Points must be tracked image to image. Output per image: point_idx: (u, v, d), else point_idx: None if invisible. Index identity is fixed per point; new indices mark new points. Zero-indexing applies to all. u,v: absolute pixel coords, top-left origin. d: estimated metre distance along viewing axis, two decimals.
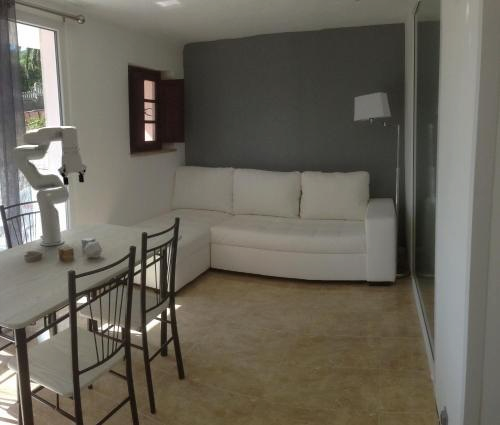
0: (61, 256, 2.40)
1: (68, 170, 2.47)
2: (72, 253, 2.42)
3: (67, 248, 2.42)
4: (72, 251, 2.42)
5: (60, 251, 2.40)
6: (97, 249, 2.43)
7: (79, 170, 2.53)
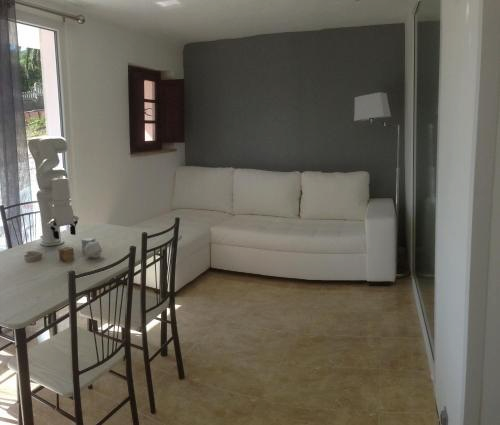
0: (61, 256, 2.40)
1: (58, 223, 2.34)
2: (72, 253, 2.42)
3: (67, 248, 2.42)
4: (72, 251, 2.42)
5: (60, 251, 2.40)
6: (97, 249, 2.43)
7: (70, 222, 2.39)
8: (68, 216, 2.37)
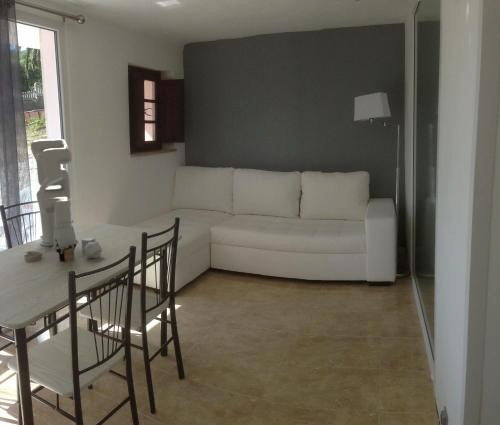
0: None
1: (60, 245, 2.36)
2: (72, 253, 2.42)
3: (67, 248, 2.42)
4: (72, 251, 2.42)
5: None
6: (97, 249, 2.43)
7: (72, 243, 2.42)
8: (70, 237, 2.40)
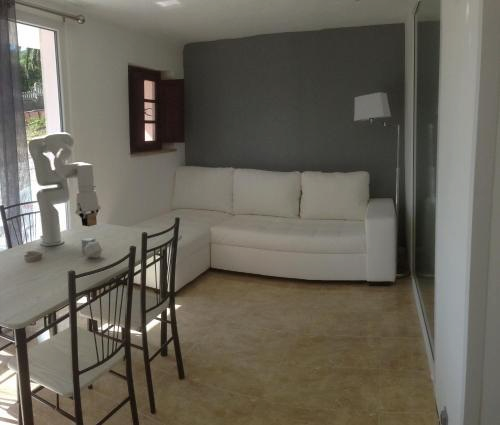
0: None
1: (83, 209, 2.36)
2: (95, 218, 2.42)
3: (90, 213, 2.42)
4: (95, 216, 2.42)
5: None
6: (97, 249, 2.43)
7: (95, 208, 2.42)
8: (92, 202, 2.40)
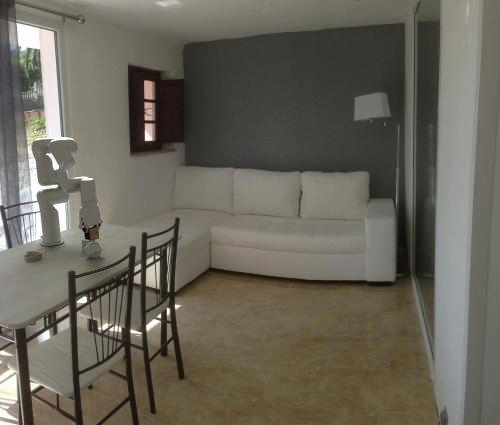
0: None
1: (86, 224, 2.38)
2: (97, 232, 2.44)
3: (92, 227, 2.44)
4: (97, 230, 2.44)
5: None
6: (97, 249, 2.43)
7: (97, 222, 2.44)
8: (95, 216, 2.42)
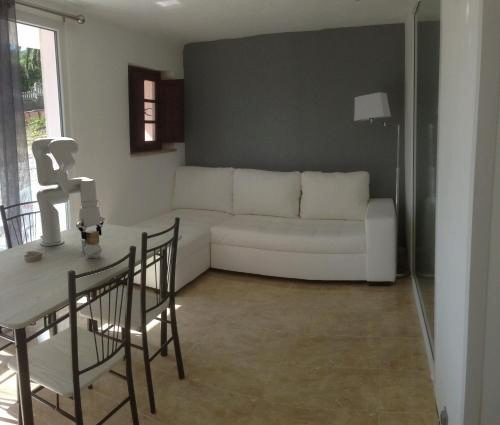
0: (87, 239, 2.43)
1: (86, 224, 2.38)
2: (97, 236, 2.44)
3: (92, 231, 2.44)
4: (97, 234, 2.44)
5: None
6: (97, 249, 2.43)
7: (97, 223, 2.44)
8: (95, 217, 2.42)
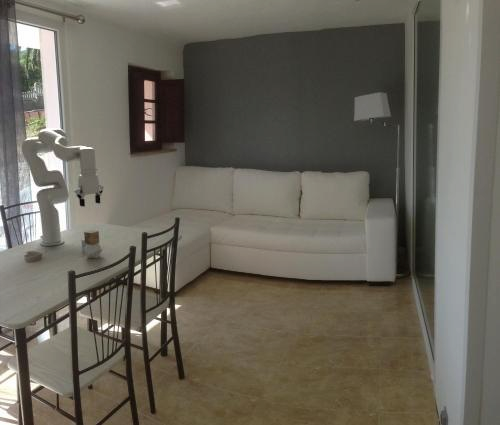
0: (87, 239, 2.43)
1: (85, 192, 2.43)
2: (97, 236, 2.45)
3: (92, 231, 2.44)
4: (97, 234, 2.44)
5: (86, 234, 2.42)
6: (97, 249, 2.43)
7: (96, 191, 2.48)
8: (94, 185, 2.46)
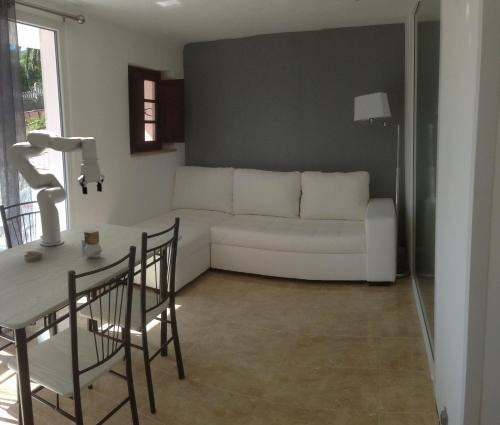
0: (86, 239, 2.43)
1: (87, 180, 2.53)
2: (97, 236, 2.45)
3: (92, 231, 2.44)
4: (97, 234, 2.44)
5: (86, 234, 2.42)
6: (97, 249, 2.43)
7: (97, 180, 2.59)
8: (96, 174, 2.57)
